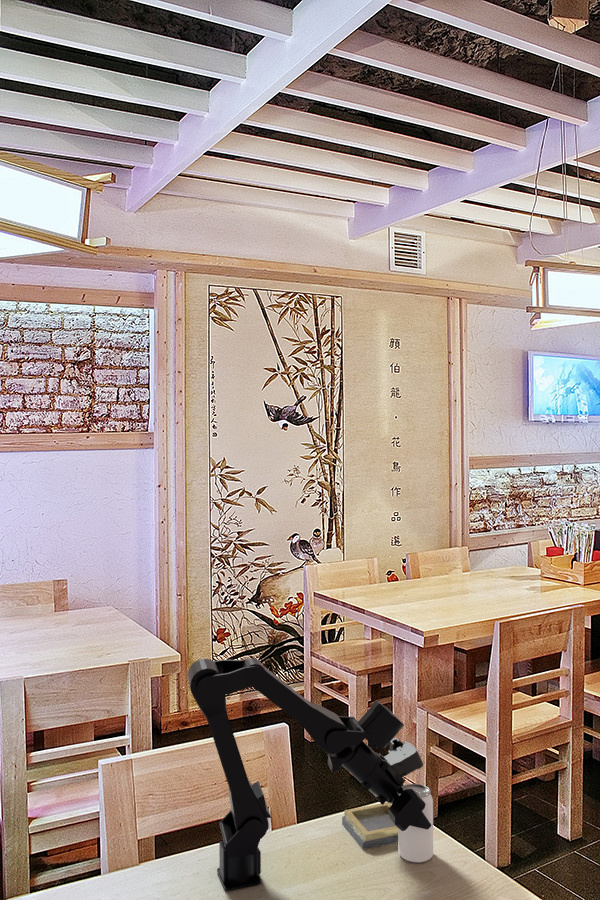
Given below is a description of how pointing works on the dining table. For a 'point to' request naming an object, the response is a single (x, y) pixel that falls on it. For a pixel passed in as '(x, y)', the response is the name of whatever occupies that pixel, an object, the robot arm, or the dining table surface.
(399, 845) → the can
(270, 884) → the dining table surface
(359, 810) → the gold square coaster
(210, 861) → the dining table surface
